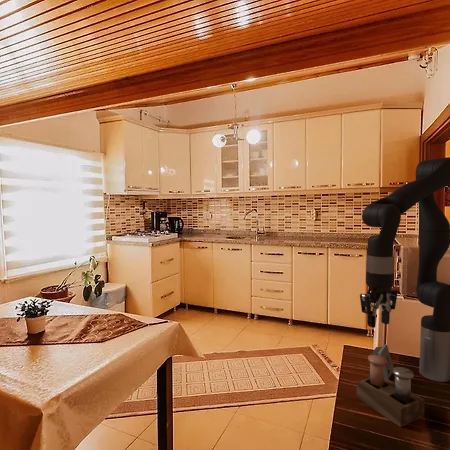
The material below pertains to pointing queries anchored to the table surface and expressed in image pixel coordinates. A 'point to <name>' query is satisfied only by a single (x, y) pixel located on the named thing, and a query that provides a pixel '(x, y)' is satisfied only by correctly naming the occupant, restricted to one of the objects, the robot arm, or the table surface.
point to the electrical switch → (385, 353)
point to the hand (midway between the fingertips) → (378, 324)
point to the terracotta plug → (377, 369)
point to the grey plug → (402, 383)
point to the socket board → (390, 402)
